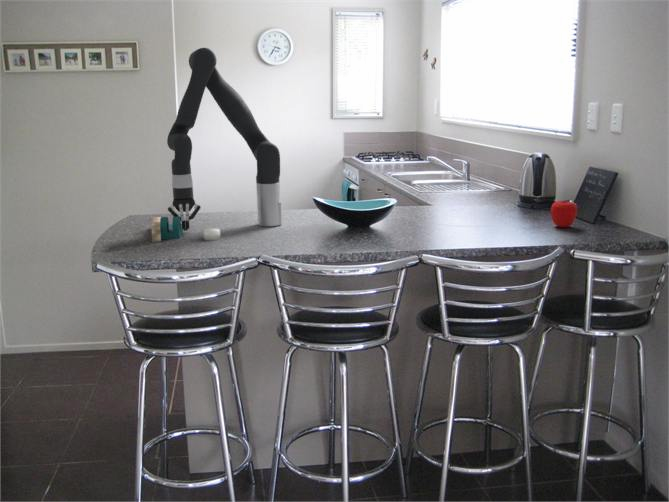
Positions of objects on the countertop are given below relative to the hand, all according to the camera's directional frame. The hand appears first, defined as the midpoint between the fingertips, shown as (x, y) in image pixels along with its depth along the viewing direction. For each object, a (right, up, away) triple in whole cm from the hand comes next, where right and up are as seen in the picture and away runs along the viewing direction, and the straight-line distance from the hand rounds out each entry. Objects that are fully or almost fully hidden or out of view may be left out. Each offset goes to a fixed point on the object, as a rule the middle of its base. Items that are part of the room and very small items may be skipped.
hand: (185, 230), depth 258 cm
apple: (+147, +1, +2) cm, 147 cm away
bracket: (-5, -2, 0) cm, 5 cm away
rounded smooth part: (+12, -3, -9) cm, 15 cm away
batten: (-10, -2, -2) cm, 11 cm away
